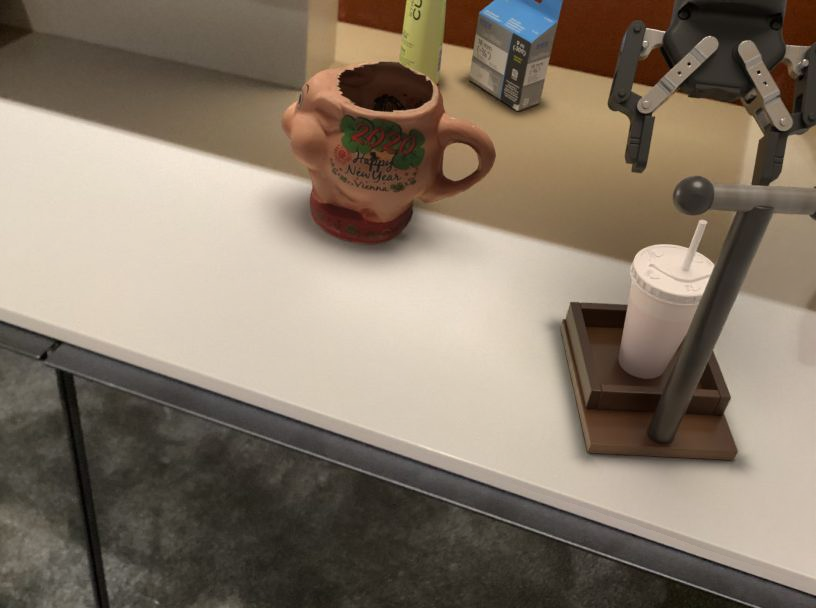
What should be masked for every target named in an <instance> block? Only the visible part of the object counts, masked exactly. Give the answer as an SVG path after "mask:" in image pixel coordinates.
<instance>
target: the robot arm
mask: <svg viewBox="0 0 816 608" xmlns="http://www.w3.org/2000/svg"><path fill="white" fill-rule="evenodd" d="M787 3H788V0H674V2H673V7H672V13H671V19H670V22H669V23H670V24H669V27H668V28H667V29H666V30H659V29H653V28H648V27H647V26H646V24H645V23H644V21H643V20H640V19H636V20H633V21H631V23H629V25H628V28H627V29H626V31H625V33H624V35H623V37H622V40H621V44H620V48H619V53H618V57H617V60H616V65H615V68H614V73H613V77H612V82H611V86H610V90H609V95H608V99H607V107H608V109H609V110H610V111H612V112H619V113H621V114H622V115H625V116H626V117H627V119H628V120H629V128H628V134H627V139H626V145H625V150H624V151H625V153H624V159H625V164H627V165H629V164H630V165H631V169H630V172H631V173H635V174H642V173H643V172H644V171H645V170H646V169H647V164H648V162H649V161H648V160H649V155H650V148H651V144H652V138H653V133H654V127H655V120H656V116H655V115H654V116H653V114H654V113H655V112H656V111H657V110H658V109H659V108H660V107H661V106H662V105H664V104H665V103H666V102H667V101H668V100H670V99H671V97H673V96H674V95H675V94H676V93H677V92H678V91H679V90H681V92H683V93H685V94H686V95H687V98H691V99H699V100H700V99H706V98H711V99H714V100H716V101H719V102H723V103H733V102H735V101H737V100H739V101H740V102H741V104H742V105H743V108H744V109H745V111H746V113H747V114H748V115H749V116H751V117H752V118H753V119H754V121H755V122H756V124H757V126H758V128H759V129H760V131H761V133H762V134H763V136H762V137H761V138H760V139H758V143H757V149H756V155H755V160H754V166H753V173H752V178H751V184H750V185H759V186H770V185H771V184H772V183H773V182H774V181H776V180H777V179H779V177H780V175H781V173H783V166H784V161H785V154H786V148H787V144H788V138H789V137H790V136H793V135H795V136H802V135H803V134H806V133H807V132H808V131H809V130H810V129H812V128H813V127H815V126H816V41H815V42H813V43H812V44H811V45H808V46H807V45H806V46H805V45H793V44H792V45H789V44H786V42H785V40H784V36H783V26H784V21H785V14H786V9H787ZM655 49H659V52H660V55H661V56H662V58H663V60H664V62H665V65H666V66H667V67H668V70H669V71H667V72H666V74H664V75H663V76H662V77H661V78H660V79H659V80H658V81H657V83H655V84H654V85H653V86H652V88H650V89H649V90H648V91H647V92H646V93H645V94H644V95H643V96H642V95H640V94H638V93H636V92H634V91H632V90H633V86H634V81H635V76H636V73H637V69H638V64H639V61H644V60H646V59H647V58H649V55H650V53H651V52H652V50H655ZM780 63H782V64H784V65H785V66H786V67H787V72H788V76H789V77H790V78H791V79H794V80H795V81H794V91H793V99H792V107H791V113H790V112H789V110H788V109H787V107H786V105H785V104H784V102H783V100H782V98H781V91H780V88H779V86H778V85H777V83H776V81H775V79H774V77H773V76H772V74H771V72H772V71H773V70H774V69H775V68H776V67H777V66H778V65H779V64H780Z"/></svg>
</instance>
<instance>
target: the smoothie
mask: <svg viewBox="0 0 816 608" xmlns="http://www.w3.org/2000/svg"><path fill="white" fill-rule="evenodd" d="M707 225H708V221H707V220H705V219H700V220H699V221H698V223H697V226H696V228H695V231H694V233H693V236H692V239H691V242H690V244H689V246H688V247H685V246H682V245H677V244H671V243H669V244H668V243H667V244H666V243H661V244H660V243H659V244H654V245H653V244H652V245H649V246H646V247H644V248H642V249H640V250H639V251H638V252H637V253H636V255H635V256H634V258H633V261H632V263H631V265H630V266H629V267H630V268H629V276H630V278H631V285H630V290H629V296H628V302H627V305H628V307H627V313H626V318H625V324H624V329H623V335H622V341H621V346H620V352H619V358H618V361H619V364H620V366H621V367H622V368H623V369H624V370H625V371H626V372H627V373H629V374H631V375H633V376H635V377H638V378H643V379H652V378H656V377H659V376H660V375H661V374H662V373H663V372H664V370H665V369H666V367H667V365H668V364H669V362H670V360H671V359H672V357H673V356H674V354H675V352H676V351H677V349H678V347H679V346H680V344H681V342H682V341H683V339H684V337H685V336H686V334H687V331H688V329H689V327H690V324H691V322H692V319H693V317H694V314H695V312H696V309H697V307H698V305H699V302H700V300H701V297H702V295H703V292H704V290H705V287H706V285H707V283H708V280H709V278H710V275H711V273H712V270H713V268H714V265H715V263H714V262H713V261H711V260H710V258H708V257H706V255H704V254H702V253H700V252H698V248H699V245H700V243H701V240H702V237H703V235H704V233H705V229H706V227H707Z"/></svg>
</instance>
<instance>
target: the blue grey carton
mask: <svg viewBox="0 0 816 608" xmlns="http://www.w3.org/2000/svg"><path fill="white" fill-rule="evenodd" d="M563 3H564V0H541V2H540V3H539V2H538V1H536V0H493V1H491V2H490V3H489V4H488V5H487V6H485V7H484V8H483V9H482V10H480V11H479V12H478V17H477V24H476V30H475V36H474V42H473V49H472V55H471V56H472V57H471V63H470V69H469V76H468V80H469V81H470V82H472V83H473V84H475V85H477V86H478V87H480V88H481V89H483V90H485V91H486V92H488V94H491V95H492V96H493V97H495V98H497V99H498V100H500V101H502V102H503V103H505V104H506V105H507V106H509V107H511V108H512V109H514V110H515V111H517V112H521V111H523V110H527V109H529V108H532V107H535V106H538V105H539V104H540V103H541V99H542V94H543V91H544V85H545V82H546V76H547V72H548V69H549V68H548V67H549V63H550V60H551V59H550V58H551V55H552V50H553V46H554V41H555V36H556V32H557V28H558V24H559V18H560V15H561V12H562V11H561V10H562V6H563Z"/></svg>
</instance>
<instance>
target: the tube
mask: <svg viewBox="0 0 816 608" xmlns="http://www.w3.org/2000/svg"><path fill="white" fill-rule="evenodd" d="M446 11H447V0H406V1H405V9H404V17H403V24H402V33H401V40H400V50H399V59H398V62H399V63H401V64H402V65H403V66H406V67H409V68H412V69H414V70H416V71H418V72H420V73H422V74H424V75H426V76H428V77H429V78H430V79H431V80H432V81H433V82H434V83H435V84H436V85H437V84H438V83H439V82H440V75H441V68H442V67H441V65H442V56H443V55H442V54H443V46H444V37H445V36H444V35H445V22H446Z"/></svg>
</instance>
